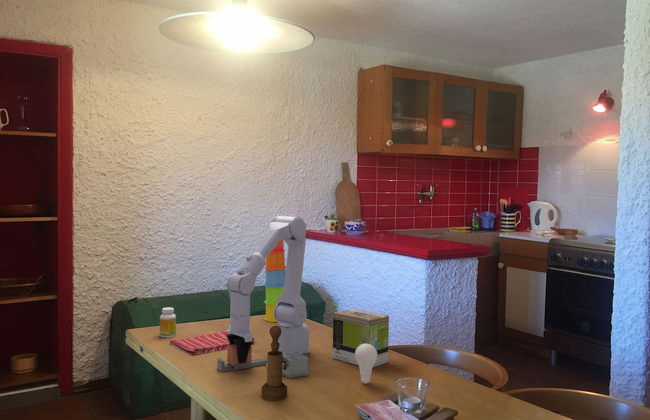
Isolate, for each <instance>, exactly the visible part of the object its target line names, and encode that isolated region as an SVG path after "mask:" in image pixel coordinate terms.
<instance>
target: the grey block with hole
mask: <svg viewBox="0 0 650 420" xmlns="http://www.w3.org/2000/svg"><path fill="white" fill-rule="evenodd" d="M282 363H286V368H282V376H284V377H286V378H287V379H294V378H299V377H304V376H306V377H307V376H308V375H309V374H308V373H309V357H308V356H306V355H304V354H301V353H299V352H296V353H289V354H283V361H282Z"/></svg>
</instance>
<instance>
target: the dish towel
mask: <svg viewBox="0 0 650 420" xmlns="http://www.w3.org/2000/svg"><path fill="white" fill-rule="evenodd" d="M226 330H227V329H226ZM226 330H222V331H217V332H214V333H212V332H211V333H206V334H203V335H197V336H192V337H191V336H190V337H186V338H185V337H184V338H176V339H172V340H169V343H170V345H171V346H173V347H175V348H176V349H179V350H181V351H182V352H184V353H185V354H188V355H190V356H196V355H197V356H198V355H203V354H204V355H205V354H210V353H215V352H219V351H224V350H227V349H228V345H230V343H229V341H228V339H227V337H226V335H227V334H228V333H226ZM254 338H255V337H254V336H252V339H254ZM254 340H255V339H254ZM253 344H254V342H253V343H252V345H253Z"/></svg>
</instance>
